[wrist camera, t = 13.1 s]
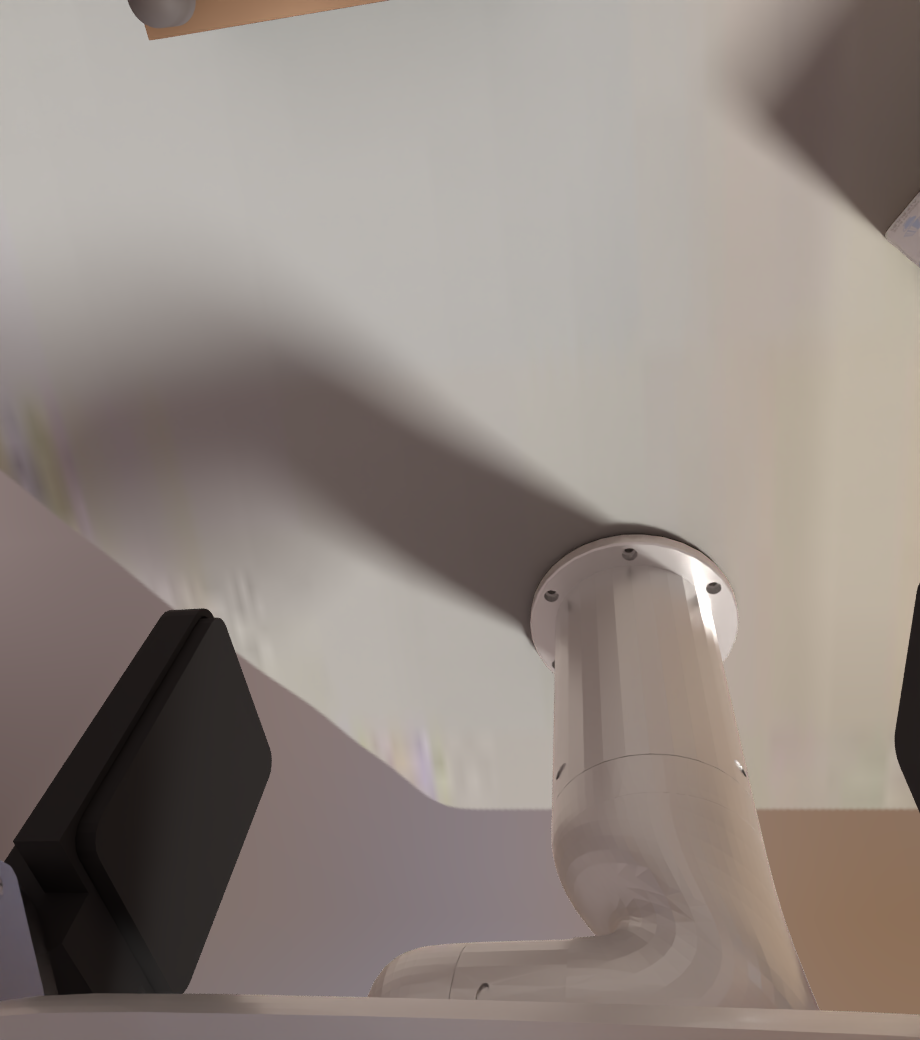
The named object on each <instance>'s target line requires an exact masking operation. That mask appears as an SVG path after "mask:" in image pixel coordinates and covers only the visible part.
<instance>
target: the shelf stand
mask: <svg viewBox="0 0 920 1040" xmlns="http://www.w3.org/2000/svg"><path fill="white" fill-rule="evenodd" d="M382 1H388V0H128V2H129V5H130V7H131V9H132V11H133V13H134V14H135V15H136V17H137V18H138V19H139V20H140V21H141V22H143V23H144V24H145V28H146V31H147V35H148V38H149V40H155V39H162V38H168V37H174V36H180V35H186V34H192V33H198V32H204V31H210V30H215V29H221V28H227V27H233V26H239V25H245V24H251V23H257V22H263V21H269V20H275V19H281V18H287V17H293V16H299V15H304V14H310V13H316V12H322V11H328V10H334V9H340V8H346V7H352V6H358V5H364V4H370V3H376V2H382Z"/></svg>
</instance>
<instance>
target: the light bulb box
mask: <svg viewBox="0 0 920 1040" xmlns="http://www.w3.org/2000/svg"><path fill="white" fill-rule="evenodd" d="M885 237H886V239H887V240H888V241H889V242H890V243H892V244H893V245H894V246H896V247H897V248H898V249H899V250H900V251H901V252H902V253H904V254H905V255H906V256H907V257H908V258H909V259H910V260H911V261H913V262H914V263H915V264H916V265H917V266H918V267H920V192H919V193H918V194H917V195H916V196H915V198H914V199H913V200H912V201H911V202H910V204H909V205H908V206H907V207H906V208H905V210H904V211H903V212H902V213H901V214H900V216H899V217H898V218H897V219H896V220H895V221H894V223H893V224H892V225H891V226H890V228H889V229H888V230H887V232H886V233H885Z"/></svg>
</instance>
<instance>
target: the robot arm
mask: <svg viewBox="0 0 920 1040" xmlns="http://www.w3.org/2000/svg"><path fill="white" fill-rule="evenodd" d="M628 548H629V549H628ZM530 626H531V634H532V640H533V642H534V645H535V648H536V650H537V653H538V654H539V656H540V657H541V659H542V661H543V662H544V664H545V665H546V666H547V667H548V668H549V669H550V670H551V671H552V672H553V673H554V674H555V682H554V735H553V788H552V825H551V826H552V828H551V838H552V839H551V840H552V853H553V857H554V862H555V867H556V871H557V874H558V876H559V879H560V881H561V884H562V886H563V888H564V891H565V893H566V895H567V896H568V898H569V900H570V901H571V903H572V905H573V906H574V908H575V910H576V911H577V912H578V914H579V915H580V917H581V918H582V919H583V921H584V922H585V923H586V925H587V926H588V927H589V928H590V930H591V931H592V932H593V934H594V935H595V936H590V937H574V938H573V939H566V940H534V941H502V942H473V943H456V944H442V945H432V946H425V947H421V948H417V949H414V950H411V951H408V952H405V953H404V954H402V955H400V956H398V957H396V958H395V959H394V960H393V961H391V962H390V963H389V964H388V965H387V966H385V967H384V969H383V970H382V971H381V973H380V974H379V975H378V977H377V978H376V980H375V981H374V983H373V985H372V988H371V990H370V992H369V994H368V997H332V996H327V997H326V996H287V995H240V994H183V993H184V991H185V990H186V989H187V987H188V985H189V983H190V981H191V978H192V975H193V973H194V970H195V968H196V965H197V963H198V960H199V957H200V955H201V952H202V949H203V947H204V944H205V942H206V939H207V937H208V934H209V931H210V929H211V926H212V924H213V921H214V918H215V916H216V913H217V911H218V908H219V905H220V903H221V900H222V898H223V895H224V892H225V890H226V887H227V884H228V882H229V879H230V877H231V874H232V872H233V869H234V867H235V864H236V861H237V859H238V856H239V853H240V851H241V848H242V846H243V843H244V840H245V838H246V835H247V833H248V830H249V827H250V825H251V822H252V820H253V817H254V815H255V812H256V809H257V807H258V804H259V801H260V799H261V796H262V794H263V791H264V789H265V786H266V783H267V781H268V778H269V775H270V772H271V761H272V760H271V759H272V758H271V751H270V747H269V745H268V742H267V739H266V736H265V733H264V731H263V728H262V725H261V722H260V720H259V717H258V714H257V711H256V709H255V706H254V703H253V700H252V698H251V694H250V692H249V689H248V686H247V683H246V681H245V678H244V675H243V672H242V669H241V667H240V664H239V661H238V658H237V656H236V653H235V650H234V647H233V644H232V642H231V639H230V636H229V633H228V630H227V628H226V625H225V623H224V621H223V620H222V619H220V618H214V617H213V615H212V613H211V612H210V611H209V610H207V609H186V610H170V611H167V612H165V613H164V614H163V615H162V616H161V618H160V619H159V621H158V622H157V624H156V625H155V627H154V628H153V630H152V631H151V633H150V634H149V636H148V637H147V639H146V640H145V642H144V643H143V645H142V647H141V648H140V649H139V651H138V652H137V654H136V655H135V657H134V659H133V660H132V662H131V663H130V665H129V666H128V668H127V669H126V671H125V672H124V674H123V675H122V677H121V678H120V680H119V681H118V683H117V684H116V686H115V687H114V689H113V691H112V692H111V693H110V695H109V697H108V698H107V699H106V701H105V702H104V704H103V706H102V707H101V709H100V710H99V712H98V713H97V715H96V716H95V718H94V719H93V721H92V722H91V724H90V725H89V727H88V728H87V730H86V731H85V733H84V734H83V736H82V737H81V739H80V740H79V742H78V744H77V745H76V747H75V748H74V750H73V751H72V753H71V754H70V756H69V757H68V759H67V760H66V762H65V763H64V765H63V766H62V768H61V769H60V771H59V772H58V774H57V775H56V777H55V778H54V780H53V781H52V783H51V784H50V786H49V788H48V789H47V791H46V792H45V794H44V795H43V797H42V798H41V800H40V801H39V803H38V804H37V806H36V807H35V809H34V810H33V812H32V813H31V815H30V816H29V818H28V819H27V821H26V822H25V824H24V826H23V827H22V829H21V830H20V832H19V833H18V835H17V836H16V838H15V839H14V841H13V842H14V844H15V846H14V848H13V849H12V851H11V852H10V854H9V856H8V857H7V858H6V860H5V861H4V862H3V861H1V860H0V1040H920V1015H913V1014H893V1013H872V1012H850V1011H849V1012H848V1011H820V1010H819V1008H818V1006H817V1003H816V1000H815V998H814V996H813V993H812V991H811V988H810V986H809V983H808V981H807V978H806V976H805V973H804V971H803V968H802V966H801V963H800V961H799V958H798V956H797V953H796V951H795V948H794V945H793V942H792V940H791V936H790V934H789V931H788V928H787V925H786V923H785V920H784V917H783V913H782V910H781V906H780V903H779V900H778V897H777V893H776V890H775V886H774V882H773V878H772V874H771V870H770V867H769V863H768V859H767V855H766V851H765V846H764V842H763V838H762V833H761V829H760V825H759V821H758V816H757V812H756V807H755V803H754V799H753V794H752V790H751V785H750V781H749V776H748V772H747V768H746V763H745V759H744V754H743V750H742V746H741V741H740V737H739V732H738V728H737V724H736V719H735V715H734V710H733V706H732V701H731V697H730V693H729V688H728V684H727V679H726V675H725V671H724V666H723V662H724V661H725V660H726V658H727V657H728V655H729V654H730V653H731V650H732V648H733V645H734V643H735V641H736V638H737V633H738V627H739V615H738V606H737V603H736V599H735V595H734V592H733V590H732V588H731V586H730V584H729V582H728V580H727V578H726V576H725V575H724V574H723V572H722V571H721V570H720V569H719V568H718V566H717V565H716V564H715V563H714V562H713V561H711V560H710V559H709V558H708V557H706V556H705V555H704V554H702V553H701V552H700V551H698V550H696V549H694V548H692V547H690V546H688V545H686V544H684V543H681V542H678V541H675V540H671V539H668V538H665V537H659V536H652V535H644V534H640V535H619V536H614V537H608V538H603V539H600V540H597V541H594V542H591V543H588V544H585V545H583V546H581V547H579V548H578V549H576V550H574V551H572V552H570V553H569V554H567V555H566V556H564V557H563V558H562V559H561V560H559V561H558V562H557V563H556V564H555V565H553V566H552V568H551V569H550V570H549V571H548V572H547V574H546V575H545V576H544V577H543V579H542V580H541V582H540V584H539V586H538V588H537V590H536V592H535V594H534V599H533V603H532V607H531V620H530ZM895 750H896V755H897V759H898V762H899V765H900V768H901V770H902V772H903V775H904V777H905V779H906V782H907V784H908V786H909V789H910V791H911V793H912V796H913V798H914V800H915V803H916V805H917V807H918V810H919V812H920V584H919V586H918V589H917V594H916V601H915V607H914V613H913V620H912V626H911V633H910V639H909V646H908V652H907V659H906V665H905V672H904V678H903V685H902V691H901V698H900V704H899V711H898V717H897V724H896V730H895Z"/></svg>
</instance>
